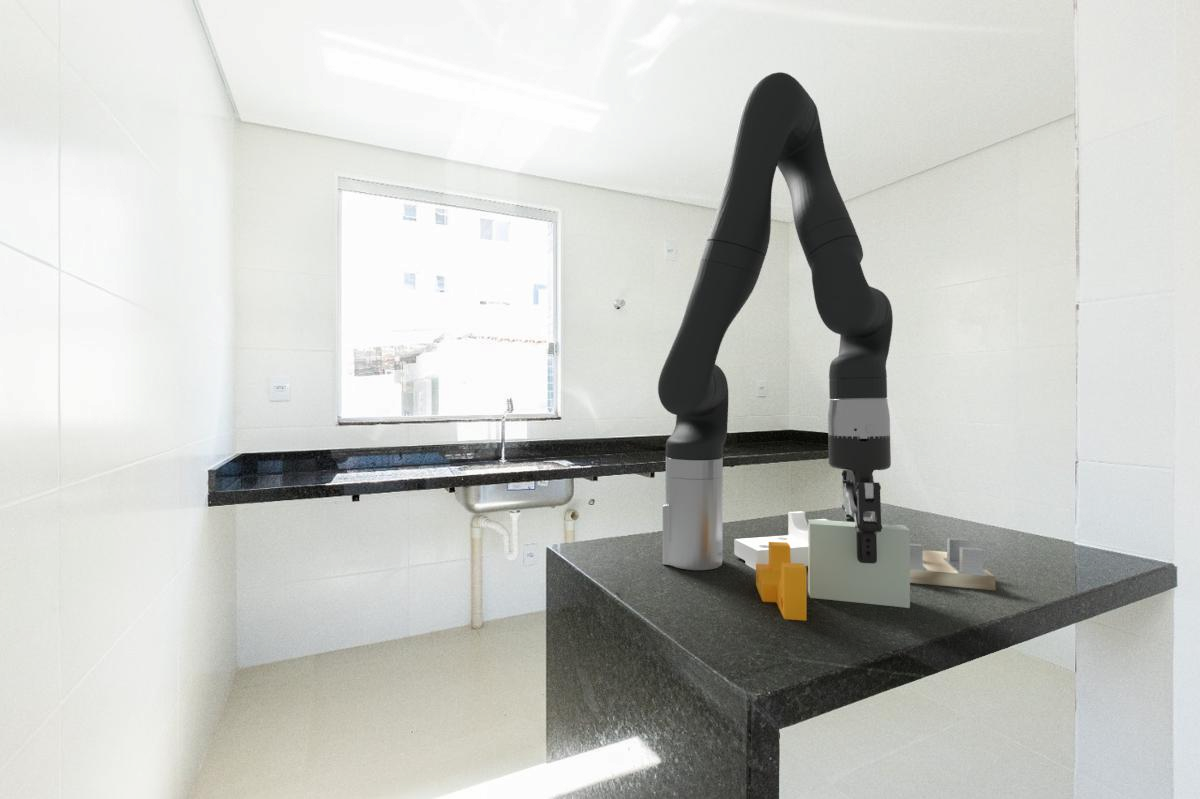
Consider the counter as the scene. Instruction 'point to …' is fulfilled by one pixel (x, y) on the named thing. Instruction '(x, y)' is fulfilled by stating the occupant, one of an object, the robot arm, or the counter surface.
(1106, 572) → the counter surface
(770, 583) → the orange stepped block
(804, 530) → the bracket
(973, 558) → the grey slotted panel holder
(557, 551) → the counter surface
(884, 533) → the door
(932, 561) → the wooden base board
